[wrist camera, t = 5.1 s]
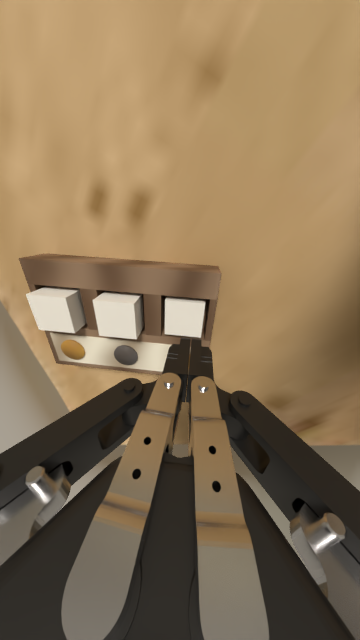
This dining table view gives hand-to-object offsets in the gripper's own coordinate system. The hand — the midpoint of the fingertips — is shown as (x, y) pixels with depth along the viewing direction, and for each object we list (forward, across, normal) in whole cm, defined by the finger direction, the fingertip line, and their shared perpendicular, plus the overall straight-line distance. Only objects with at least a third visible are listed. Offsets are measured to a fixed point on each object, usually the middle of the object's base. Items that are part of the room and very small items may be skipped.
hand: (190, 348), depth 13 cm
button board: (+7, +7, +1) cm, 10 cm away
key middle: (+5, +7, 0) cm, 9 cm away
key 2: (+7, +1, 0) cm, 7 cm away
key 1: (+5, +13, 0) cm, 14 cm away
